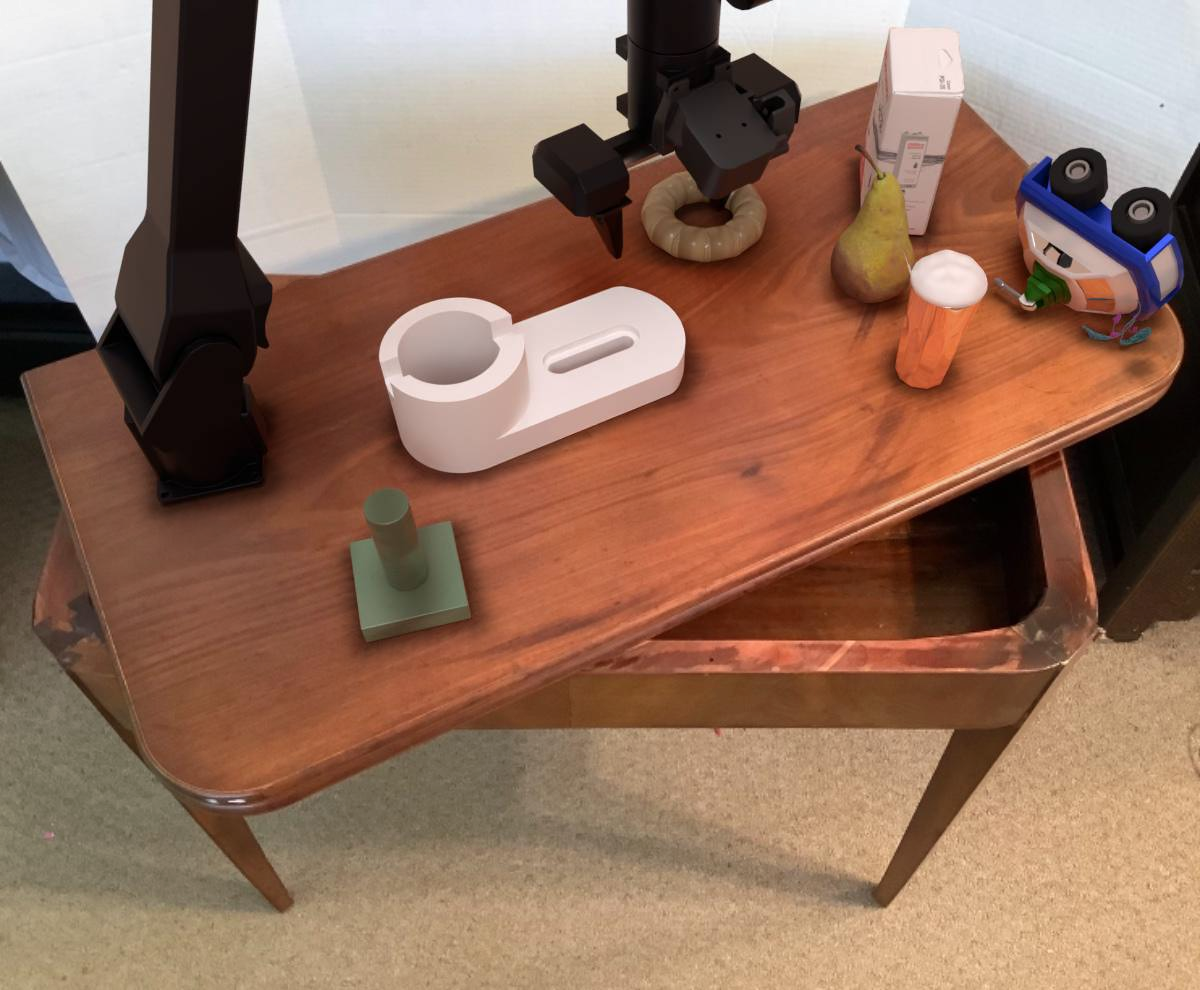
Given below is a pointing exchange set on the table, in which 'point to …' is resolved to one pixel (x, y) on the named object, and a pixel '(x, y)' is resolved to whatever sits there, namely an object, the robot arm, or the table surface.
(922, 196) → the ink box
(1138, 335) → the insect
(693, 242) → the segmented ring
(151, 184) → the robot arm
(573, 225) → the table surface
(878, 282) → the fruit
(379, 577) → the stand
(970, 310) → the beer glass
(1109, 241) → the toy car
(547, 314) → the bracket
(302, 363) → the table surface
